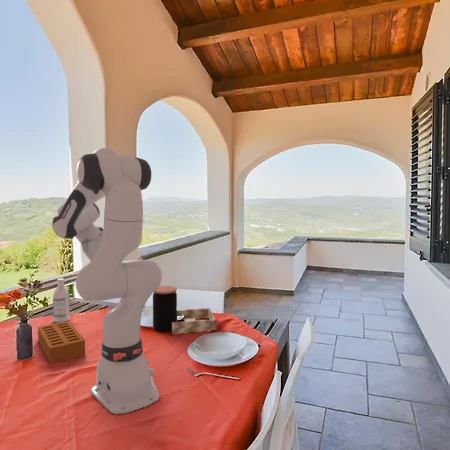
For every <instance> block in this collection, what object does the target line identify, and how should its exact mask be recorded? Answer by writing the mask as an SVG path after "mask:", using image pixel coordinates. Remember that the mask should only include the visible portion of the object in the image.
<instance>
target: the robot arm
mask: <svg viewBox="0 0 450 450" xmlns="http://www.w3.org/2000/svg"><path fill="white" fill-rule="evenodd" d="M76 175H77V178H78V181H77V182H76V183H77V184H75V187H73V189H72V191H71V193H70V195H69V196H68V198H67V199H66V201H65V202H64V203H63V204H61V206H60V207H59V208H58V210H57V212H56V213H57V215H56V216H54V217H53V219H52V223H51V224H52V225H51V227H52V230H53V232H54V233H55V234H56V235H57V237H59V238H62V239H66V240H67V239H69V240H72V239H74V238H76V240H77V241H78V242H79V243H80V244H81V247H82V248H81V249H82V251H83V253H84V254H85V256H86V257H87V258H88V259H89V261H90V262H89V263H87V264H86V265H85V266H84V267H82V268H81V269H80V271H79V272H78V274H77V276H76V279H75V289H76V292H77V293H78V295H79V296H80V298H81V299H83V300H85V301H91V302H92V301H93V302H94V301H95V302H102V301H109V300H114V299H116V300H117V299H119V302H118V303H117V304H116V305H115V306H114V307H112V309H110V310H109V311H107V312H106V314H105V315H104V317H103V320H102V342H101V348H100V349H101V358H100V360H99V361H98V363H97V364H96V377H95V378H96V379H95V380H96V381H95V385H94V386H93V387H91V389H90V394H91V395H92V396H93V397H94V399H96V400H97V401H98V402H99V403H100V404H101V405H103V407H104V408H105V409H107V410H108V411H109V412H110V413H111V414H112V413H113V415H122V414H127V413H128V414H129V413H132V412H135V411H134V410H136V411H138V410H137V409H139V410H141V409H140V408H142V409H143V407H144V408H147V407H149V406H151V405H153V404H155V403H156V402H157V401H158V400H159V399H160V398H159V397H160V393H159V390H158V388H157V385H156V383H155V380H154V375H155V371H154V368H153V367H151V368H150V367H148V365H149V363H150V362H149V359H146V357H145V352H144V350H143V349H144V348H143V342H142V337H141V321H142V313H143V310H144V308H145V305H146V303H147V301H148V300H149V298H150V297H151V296H152V295H153V294H154V291H155V290H157V289H158V287H159V286H161V284H162V279H163V273H162V270H161V267H160V266H159V264H158V263H157V262H156V261H153V260H148V259H134V260H133V259H132V260H125V258H126V257H127V256H128V255H129V254H131V253H132V252H134V251H135V250H137V249H138V248H139V247H140V246H141V244H142V241H143V240H142V239H143V225H144V224H143V223H144V202H143V193H142V191H143V190H146V189H148V187H149V186H150V183H151V181H152V169H151V166H150V164H149V162H148V161H147V160H146V159H143V158H140V157H131V156H126V155H120V154H119V153H117V152H116V151H115V150H113V149H112V148H108V147H101V148H98V149H96V150H94V151H93V152H92V153H86V154H83V155H82V156H80V157H79V160H78V163H77V166H76ZM104 197H105V198H104ZM103 198H104V199H105V201H104V210H103V211H104V213H103V227H102V226H97V225H95V224H94V223H95V222H96V221H98V219H99V218H100V213H101V212H100V211H101V210H100V209H99V206H98V205H97V204H96V202H98V201H100V200H101V199H103ZM155 401H156V402H155ZM154 402H155V403H154ZM152 403H153V404H152ZM150 404H151V405H150ZM148 405H149V406H148ZM146 406H147V407H146ZM131 411H132V412H131Z"/></svg>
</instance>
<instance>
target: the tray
mask: <svg viewBox="0 0 450 450" xmlns="http://www.w3.org/2000/svg"><path fill="white" fill-rule="evenodd" d="M182 315H184V319H187V318H195V319H197V318H206V317H208V319H209V320H208V319H197V320H196V321H177V322H172V330H171V334H172V335H181V334H180V333H184V334H190V333H189V332H196V333H203V332H202V331H208V330H216V331H217V318H216V317H215V315H214V313H213V312H212V311H211V308H210V307H204V308H187V309H177V316H182ZM184 319H183V320H184ZM208 332H209V331H208Z"/></svg>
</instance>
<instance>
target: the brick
mask: <svg viewBox="0 0 450 450" xmlns="http://www.w3.org/2000/svg"><path fill="white" fill-rule="evenodd" d="M37 337H38V343H39V345H40V347H41V349H42V351H43V352H44V355H45V357H46V358H47V361H48V362H49V364H50V365H51V364H55V363H59V362H64V361H67V360H71V359H74V358H79V357H82V356H86V339H85V338H84V337H83V336H82V334H81V333H80V332H79V331H78V330H77V328H76V327H75V326H74V325H73V323H72V322H71V321H70V320H68V321H66V322H60V323H58V322H55V323H50V324H46V325H45V324H44V325H40V326H38V327H37Z"/></svg>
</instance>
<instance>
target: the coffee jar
mask: <svg viewBox="0 0 450 450" xmlns="http://www.w3.org/2000/svg"><path fill="white" fill-rule="evenodd" d="M177 289H178V288H177V287H176V286H171V285H160V286H159V287H158V289H157V290H155V291H154V292H153V293H152V327H153V329H154V330H155V331H157V332H163V333H164V332H172V322H178V321H177V310H178V303H177V302H178V295H177Z"/></svg>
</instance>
